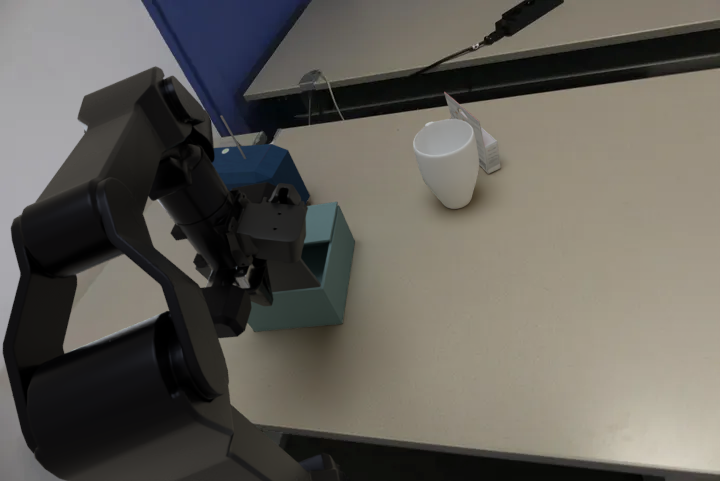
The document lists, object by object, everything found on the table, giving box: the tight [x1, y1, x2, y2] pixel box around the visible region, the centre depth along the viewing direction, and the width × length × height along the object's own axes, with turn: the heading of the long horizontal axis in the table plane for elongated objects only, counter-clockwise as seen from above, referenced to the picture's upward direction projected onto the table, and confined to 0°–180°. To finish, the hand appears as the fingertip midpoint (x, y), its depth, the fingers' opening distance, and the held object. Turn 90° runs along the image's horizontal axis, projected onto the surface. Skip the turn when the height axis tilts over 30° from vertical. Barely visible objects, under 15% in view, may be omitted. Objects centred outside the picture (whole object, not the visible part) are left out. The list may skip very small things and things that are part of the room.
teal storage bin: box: [247, 201, 356, 333], centre depth 72 cm, size 15×13×8 cm
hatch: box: [194, 258, 321, 292], centre depth 62 cm, size 7×13×1 cm
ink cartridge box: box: [443, 91, 501, 175], centre depth 80 cm, size 2×11×10 cm, turn 20°
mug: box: [412, 118, 480, 210], centre depth 75 cm, size 12×8×11 cm
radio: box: [212, 115, 311, 206], centre depth 83 cm, size 21×9×20 cm, turn 72°
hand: (269, 303), depth 59 cm, fingers closed
